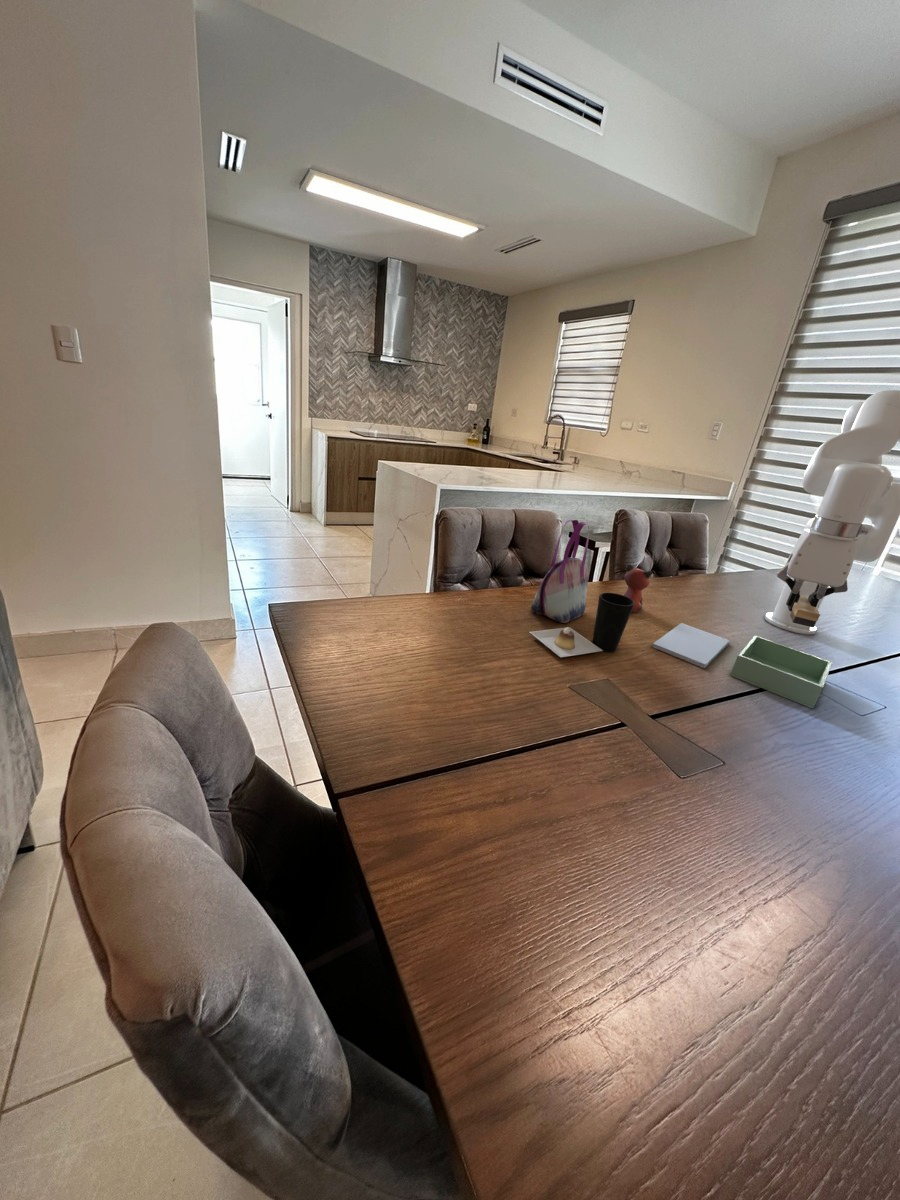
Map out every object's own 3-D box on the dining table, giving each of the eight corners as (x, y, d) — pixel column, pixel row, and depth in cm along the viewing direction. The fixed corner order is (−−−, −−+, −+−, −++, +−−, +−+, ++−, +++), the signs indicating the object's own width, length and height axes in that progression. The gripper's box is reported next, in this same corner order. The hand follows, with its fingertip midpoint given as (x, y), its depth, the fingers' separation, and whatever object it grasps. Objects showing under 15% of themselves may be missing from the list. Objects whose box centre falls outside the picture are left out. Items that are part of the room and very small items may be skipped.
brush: (785, 604, 105) (790, 592, 104) (805, 609, 104) (810, 596, 103) (792, 622, 96) (798, 609, 94) (814, 627, 94) (820, 614, 93)
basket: (747, 653, 115) (755, 635, 113) (822, 681, 106) (832, 662, 104) (729, 675, 104) (737, 655, 102) (812, 708, 94) (823, 687, 92)
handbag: (550, 630, 115) (572, 530, 105) (518, 615, 121) (535, 519, 111) (593, 611, 129) (616, 522, 120) (562, 598, 135) (581, 513, 126)
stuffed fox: (606, 609, 131) (617, 569, 127) (619, 599, 140) (629, 561, 135) (633, 618, 127) (645, 577, 123) (644, 607, 136) (656, 568, 131)
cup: (623, 657, 106) (637, 608, 101) (588, 650, 107) (601, 602, 102) (618, 641, 113) (631, 596, 108) (586, 635, 114) (598, 590, 109)
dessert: (568, 631, 115) (572, 613, 114) (602, 655, 106) (607, 636, 104) (528, 636, 110) (531, 617, 108) (559, 661, 100) (564, 642, 99)
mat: (680, 626, 126) (681, 622, 126) (728, 643, 119) (729, 640, 119) (651, 647, 112) (653, 643, 112) (704, 668, 105) (705, 664, 105)
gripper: (878, 533, 94) (838, 616, 101) (785, 517, 100) (754, 596, 108) (890, 540, 88) (847, 628, 95) (790, 523, 94) (757, 606, 101)
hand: (798, 610), depth 101 cm, fingers closed on brush, 2 cm apart
